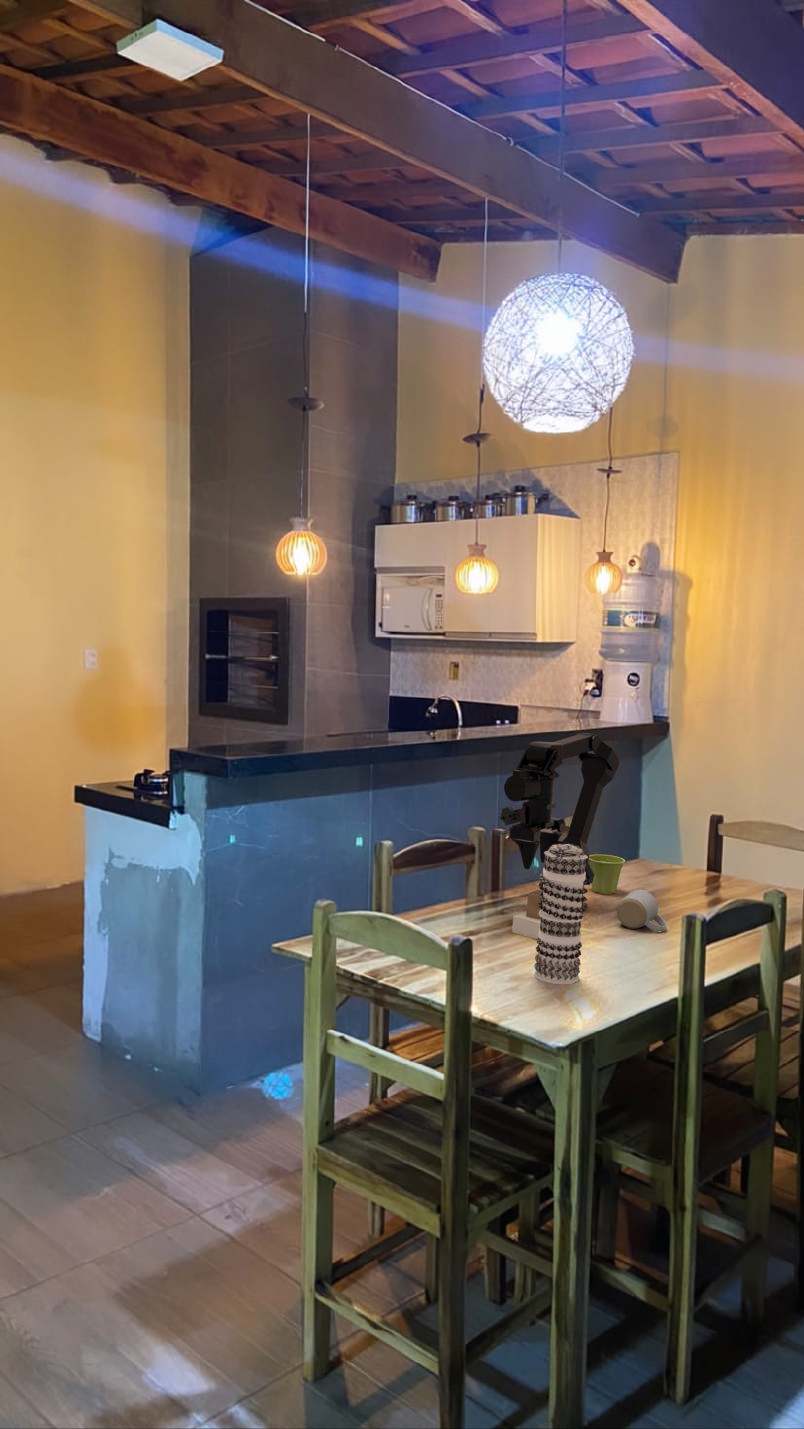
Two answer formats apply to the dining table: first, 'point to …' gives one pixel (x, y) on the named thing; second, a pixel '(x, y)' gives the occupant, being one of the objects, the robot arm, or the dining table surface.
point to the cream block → (526, 925)
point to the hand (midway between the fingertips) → (535, 865)
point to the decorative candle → (561, 914)
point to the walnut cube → (533, 905)
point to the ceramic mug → (640, 911)
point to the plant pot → (605, 873)
